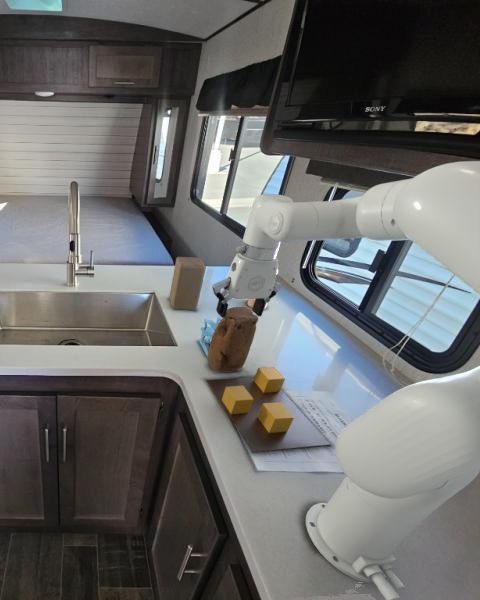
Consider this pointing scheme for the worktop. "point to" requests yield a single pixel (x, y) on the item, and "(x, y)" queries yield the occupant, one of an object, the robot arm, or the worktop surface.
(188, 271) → the wooden block
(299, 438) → the mat
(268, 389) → the ochre block
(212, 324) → the light blue crumpled piece
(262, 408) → the ochre block
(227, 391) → the ochre block
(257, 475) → the worktop surface
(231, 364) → the brown rounded lump
